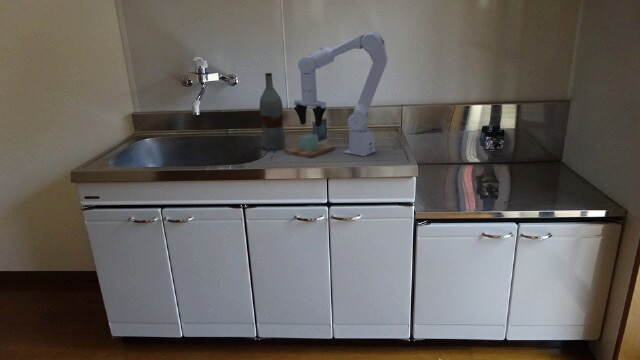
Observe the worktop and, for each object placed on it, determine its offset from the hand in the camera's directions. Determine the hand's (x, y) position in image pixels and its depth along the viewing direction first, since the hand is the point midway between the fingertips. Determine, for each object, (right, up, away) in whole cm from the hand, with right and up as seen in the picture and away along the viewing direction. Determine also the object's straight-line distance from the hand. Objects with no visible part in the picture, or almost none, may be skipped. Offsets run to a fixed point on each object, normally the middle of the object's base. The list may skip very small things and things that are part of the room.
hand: (310, 125), depth 171 cm
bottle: (-15, -8, +11) cm, 21 cm away
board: (0, -10, +3) cm, 10 cm away
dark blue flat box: (+4, -4, +21) cm, 21 cm away
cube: (-1, -9, +2) cm, 9 cm away
